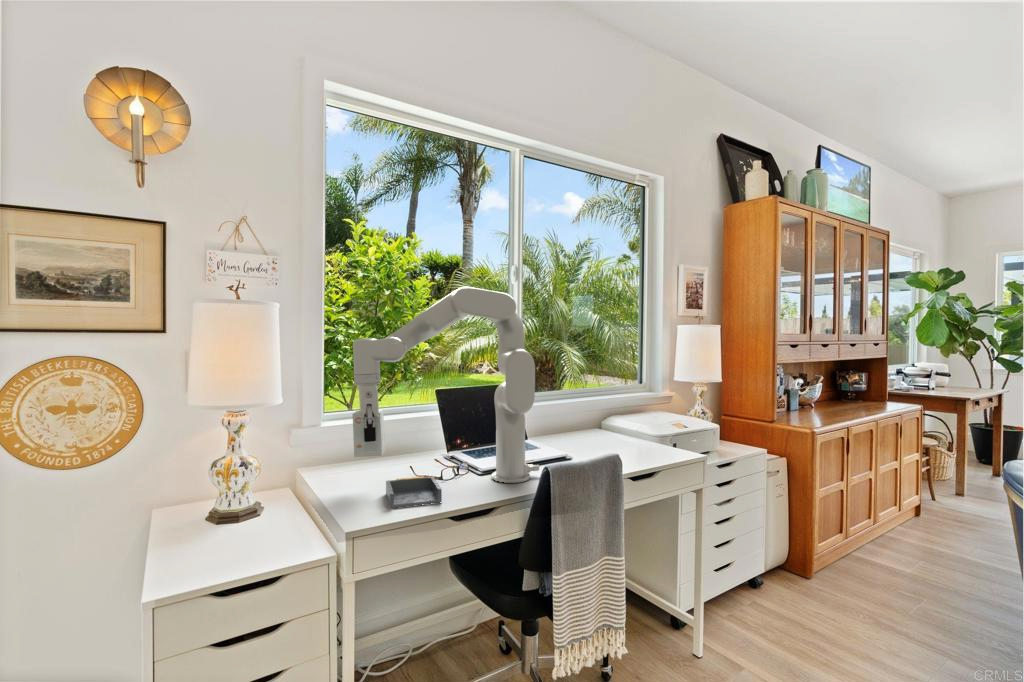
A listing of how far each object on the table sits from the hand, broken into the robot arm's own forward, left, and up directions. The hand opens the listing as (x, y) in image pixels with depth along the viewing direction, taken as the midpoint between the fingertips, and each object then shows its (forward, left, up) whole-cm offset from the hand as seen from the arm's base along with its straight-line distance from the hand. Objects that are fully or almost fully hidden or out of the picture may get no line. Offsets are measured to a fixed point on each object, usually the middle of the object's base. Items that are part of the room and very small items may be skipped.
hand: (369, 438), depth 152 cm
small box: (0, 0, -5) cm, 5 cm away
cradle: (-11, +11, -16) cm, 23 cm away
